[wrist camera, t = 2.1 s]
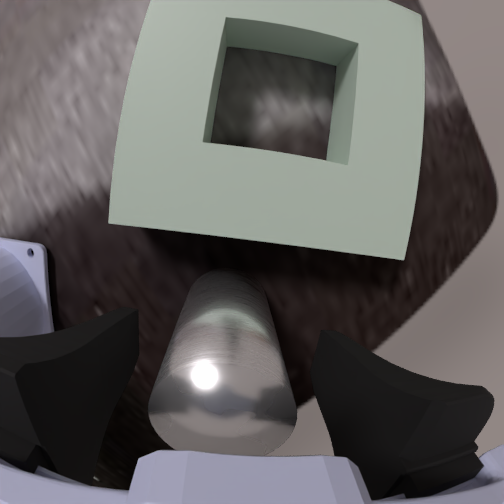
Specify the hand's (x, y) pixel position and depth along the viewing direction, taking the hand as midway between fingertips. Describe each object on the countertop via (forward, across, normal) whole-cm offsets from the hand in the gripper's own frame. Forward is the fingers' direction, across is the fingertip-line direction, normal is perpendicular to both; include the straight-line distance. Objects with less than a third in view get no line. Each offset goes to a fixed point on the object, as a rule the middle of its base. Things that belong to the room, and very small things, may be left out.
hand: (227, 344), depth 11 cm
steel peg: (+4, 0, 0) cm, 4 cm away
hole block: (+4, -1, -10) cm, 11 cm away
